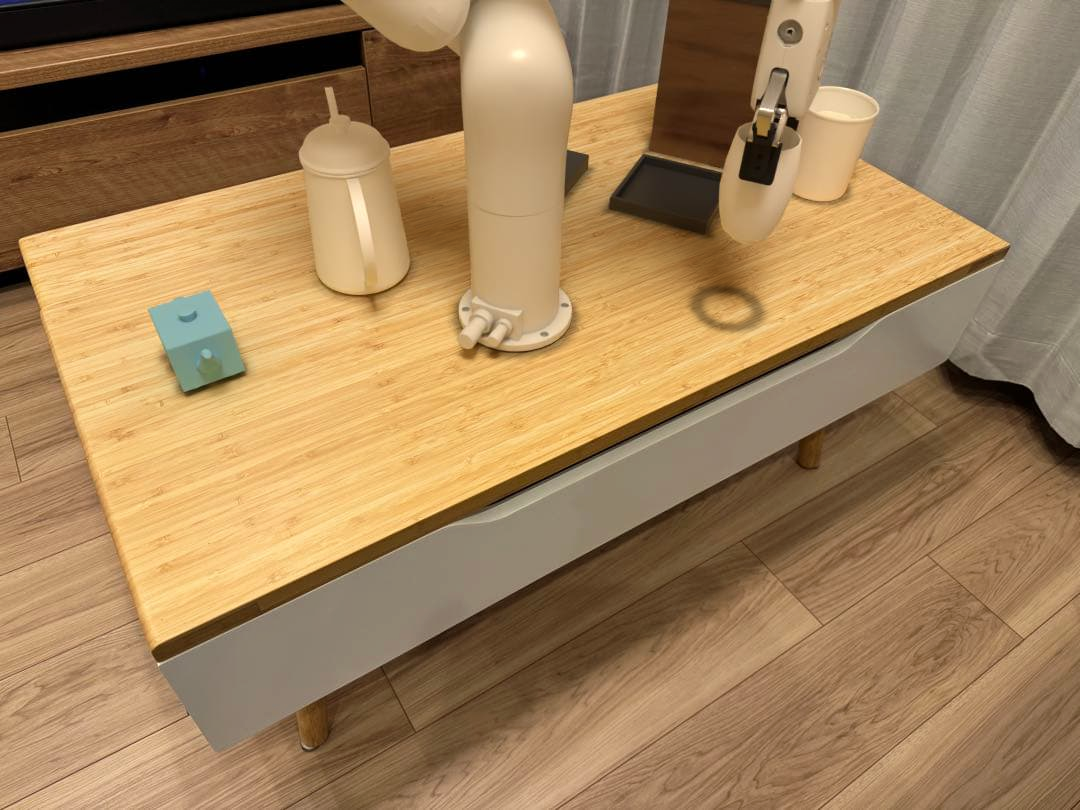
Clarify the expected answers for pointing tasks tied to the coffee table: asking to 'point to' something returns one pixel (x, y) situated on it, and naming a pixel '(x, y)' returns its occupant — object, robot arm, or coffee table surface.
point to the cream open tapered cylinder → (832, 141)
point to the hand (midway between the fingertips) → (767, 157)
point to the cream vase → (757, 190)
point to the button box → (574, 168)
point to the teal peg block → (197, 340)
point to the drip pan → (669, 193)
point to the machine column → (707, 77)
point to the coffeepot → (353, 206)
